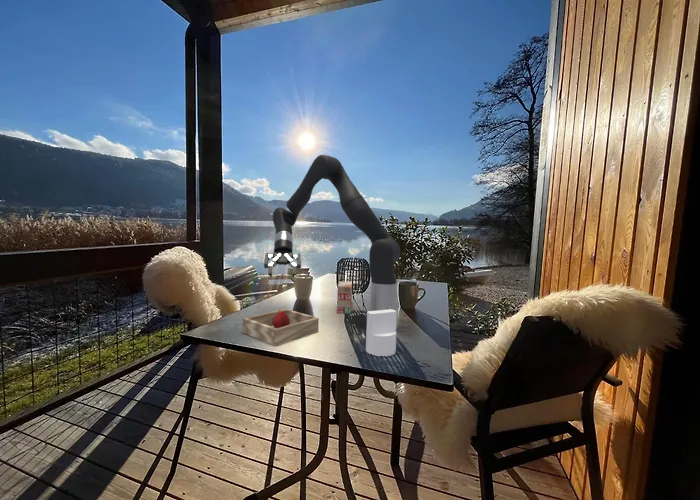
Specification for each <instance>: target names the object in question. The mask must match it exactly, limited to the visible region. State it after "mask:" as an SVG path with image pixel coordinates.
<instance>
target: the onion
mask: <svg viewBox="0 0 700 500" xmlns="http://www.w3.org/2000/svg"><path fill="white" fill-rule="evenodd" d="M278 310H279V313H277V314H276V315H275V316H274V318H273V321H272V323H273V326H272V327H274V328H280V327H284V326H287V325H290V324H289V323H290V320H289V317H288V315H287V314H286V313H284V312H283V311H282V309H278Z"/></svg>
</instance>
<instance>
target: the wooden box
mask: <svg viewBox="0 0 700 500" xmlns="http://www.w3.org/2000/svg"><path fill="white" fill-rule="evenodd" d="M279 310H280V309H277V310H273V311H270V312H265V313H261V314H256V315H252V316H248V317H243V318H242V333H243V334H246V335H247V336H250V337H253V338H254V339H258V340H260V341H262V342H265V343H267V344H270V345H272V346H274V347H278V346H281V345H285V344H286V343H289V342H293V341H296V340H299V339H301V338H304V337H307V336H310V335H313V334H315V333H319V323H320V322H319V321H320V320H319V319H320V318H319V317H317V316H313V315H310V314H306V313H303V312H298V311H295V310H291V309H288V308H282V309H281V310H282V311H283V312H284V313H286V314H287V315H288V317H289V320H290V323H289V325H287V326H284V327H280V328H274V326H273V323H272V321H273V318H274V316H275V315H276V314H277V313H279Z"/></svg>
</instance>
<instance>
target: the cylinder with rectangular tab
mask: <svg viewBox="0 0 700 500" xmlns="http://www.w3.org/2000/svg"><path fill="white" fill-rule="evenodd" d="M396 313H397V312H396V311H395V310H393V309H388V310H377V311H371V310H370V311H369V310H368V311H367V312H366V331H365V332H366V334H365V337H366V338H365V351H366V353H367V354H369V355H371V354H372V356H374V355H375V356H376V357H380V356H383V357H384V356H385V357H390V356H393V355H395V354H396V351H397V329H396ZM375 356H374V357H375Z"/></svg>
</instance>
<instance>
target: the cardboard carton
mask: <svg viewBox="0 0 700 500" xmlns="http://www.w3.org/2000/svg"><path fill="white" fill-rule="evenodd" d="M352 291H353V282H352V281H339V282H338V284H337V294H336V295H337V297H336V299H337V301H336V306H337V307H336V314H341V313H343V315H344V313H346V314H348V315H349V314H350V315H351V314H352V307H353V305H352V303H353V302H352V299H353V298H352V296H353V295H352V294H353V292H352ZM346 314H345V315H346Z"/></svg>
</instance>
